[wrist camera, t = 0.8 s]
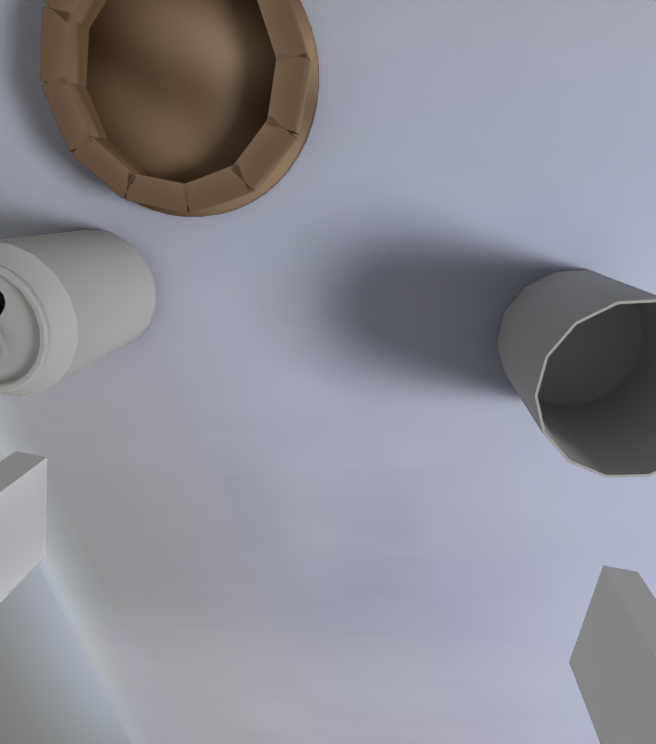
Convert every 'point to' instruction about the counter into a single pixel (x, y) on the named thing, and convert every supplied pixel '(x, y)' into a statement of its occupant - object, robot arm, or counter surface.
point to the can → (67, 304)
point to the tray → (182, 96)
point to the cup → (586, 368)
